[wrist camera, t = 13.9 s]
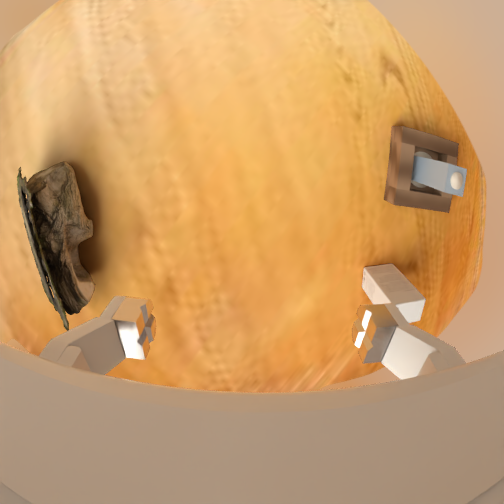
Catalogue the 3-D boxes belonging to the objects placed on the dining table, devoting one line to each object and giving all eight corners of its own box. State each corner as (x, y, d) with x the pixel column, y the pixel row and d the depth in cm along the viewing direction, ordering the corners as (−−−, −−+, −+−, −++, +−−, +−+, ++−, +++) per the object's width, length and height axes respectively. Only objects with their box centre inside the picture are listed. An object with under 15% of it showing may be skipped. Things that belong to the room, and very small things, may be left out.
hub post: (414, 155, 35) (449, 163, 27) (432, 160, 36) (468, 169, 27) (410, 179, 37) (445, 192, 28) (429, 183, 37) (463, 197, 29)
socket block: (391, 126, 35) (402, 126, 32) (446, 141, 35) (458, 143, 32) (383, 199, 40) (394, 204, 36) (437, 207, 40) (448, 212, 37)
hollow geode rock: (100, 287, 51) (124, 325, 42) (48, 306, 43) (60, 351, 33) (77, 152, 39) (93, 152, 30) (14, 167, 31) (6, 174, 21)
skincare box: (361, 287, 46) (387, 329, 35) (363, 266, 44) (392, 305, 33) (390, 283, 46) (420, 321, 35) (393, 262, 44) (426, 298, 33)
